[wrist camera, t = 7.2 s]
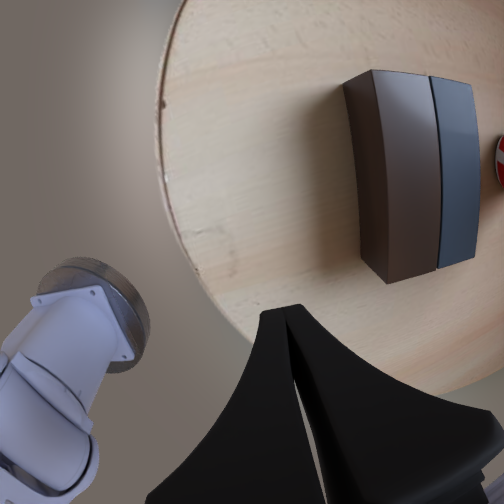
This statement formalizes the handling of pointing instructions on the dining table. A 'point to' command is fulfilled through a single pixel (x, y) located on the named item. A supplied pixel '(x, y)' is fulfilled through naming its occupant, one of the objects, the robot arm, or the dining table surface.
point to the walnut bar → (396, 172)
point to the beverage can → (500, 161)
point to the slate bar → (457, 169)
